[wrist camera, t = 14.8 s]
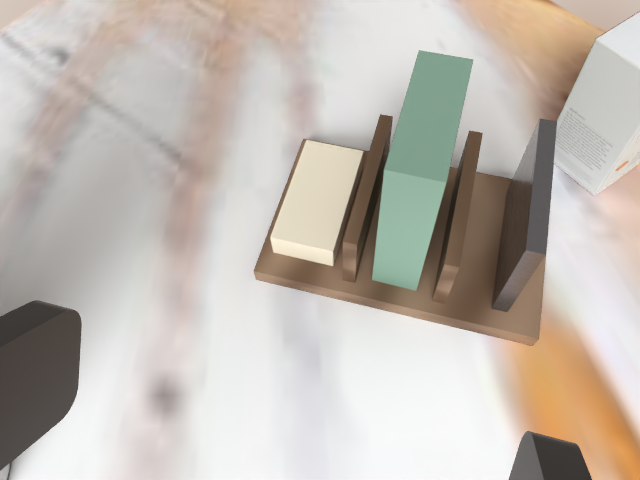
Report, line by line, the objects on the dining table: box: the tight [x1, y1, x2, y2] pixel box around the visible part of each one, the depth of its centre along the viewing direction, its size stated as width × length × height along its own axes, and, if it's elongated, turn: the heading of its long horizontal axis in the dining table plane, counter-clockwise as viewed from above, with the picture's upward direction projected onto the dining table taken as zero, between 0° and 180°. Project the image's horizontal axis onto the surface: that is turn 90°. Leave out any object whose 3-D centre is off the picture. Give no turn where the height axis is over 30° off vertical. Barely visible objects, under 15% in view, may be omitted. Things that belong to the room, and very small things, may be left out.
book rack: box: [254, 114, 546, 346], centre depth 44 cm, size 22×14×8 cm, turn 74°
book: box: [372, 50, 473, 291], centre depth 39 cm, size 4×10×14 cm, turn 164°
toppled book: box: [270, 140, 363, 266], centre depth 46 cm, size 5×10×2 cm, turn 165°
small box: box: [554, 11, 640, 196], centre depth 45 cm, size 8×6×13 cm
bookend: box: [491, 119, 557, 312], centre depth 40 cm, size 1×11×9 cm, turn 165°
